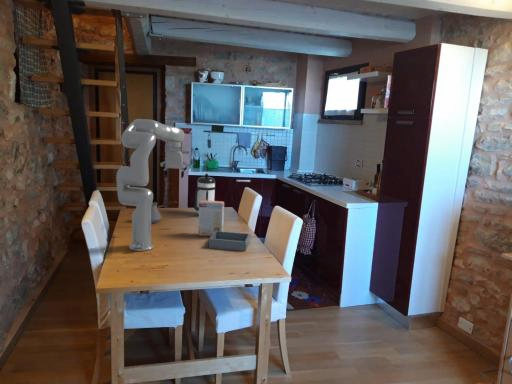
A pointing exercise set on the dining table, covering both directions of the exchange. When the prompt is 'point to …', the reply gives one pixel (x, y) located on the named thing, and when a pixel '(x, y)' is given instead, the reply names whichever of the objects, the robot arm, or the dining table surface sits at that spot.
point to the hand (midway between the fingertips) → (174, 177)
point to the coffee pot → (157, 212)
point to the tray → (229, 241)
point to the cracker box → (210, 217)
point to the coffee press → (204, 191)
